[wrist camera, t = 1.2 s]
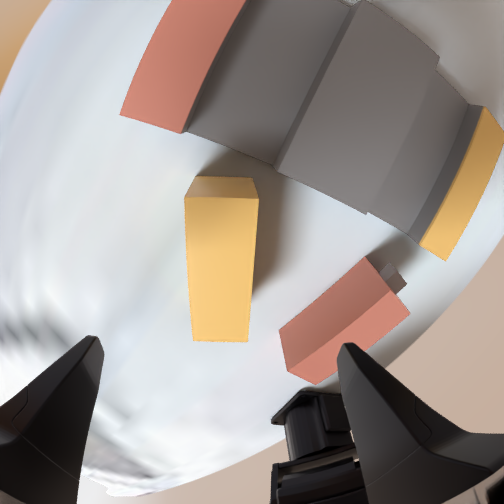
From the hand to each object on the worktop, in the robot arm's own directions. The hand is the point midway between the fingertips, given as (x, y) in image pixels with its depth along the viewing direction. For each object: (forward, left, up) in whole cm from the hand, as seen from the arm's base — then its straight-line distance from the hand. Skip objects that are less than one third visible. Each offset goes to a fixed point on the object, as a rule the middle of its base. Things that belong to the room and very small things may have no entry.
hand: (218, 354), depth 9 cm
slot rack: (+11, -3, -8) cm, 14 cm away
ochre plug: (0, 0, -8) cm, 8 cm away
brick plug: (-1, -9, -8) cm, 12 cm away
